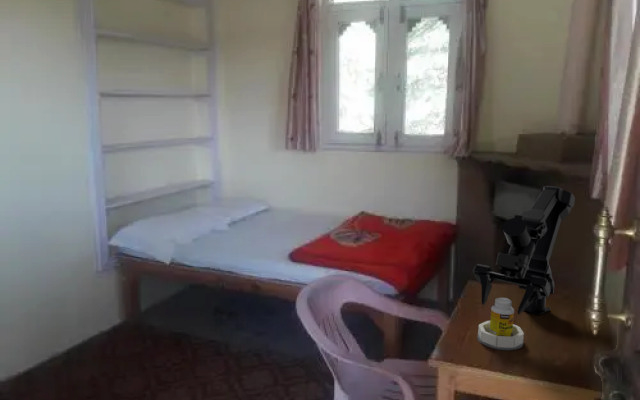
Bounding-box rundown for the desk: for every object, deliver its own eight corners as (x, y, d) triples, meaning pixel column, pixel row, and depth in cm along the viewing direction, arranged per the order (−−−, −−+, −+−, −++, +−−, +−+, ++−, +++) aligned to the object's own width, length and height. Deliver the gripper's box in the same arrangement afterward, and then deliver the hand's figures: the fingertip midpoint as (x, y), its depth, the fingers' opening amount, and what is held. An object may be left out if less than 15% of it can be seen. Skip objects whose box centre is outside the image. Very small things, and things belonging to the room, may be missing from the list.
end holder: (493, 327, 145) (494, 316, 144) (531, 341, 136) (532, 330, 136) (468, 338, 138) (469, 327, 137) (507, 354, 129) (508, 342, 129)
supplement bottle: (496, 343, 134) (499, 305, 132) (484, 334, 139) (487, 297, 137) (516, 341, 135) (519, 303, 133) (503, 332, 140) (506, 295, 138)
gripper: (477, 234, 141) (456, 285, 135) (550, 247, 129) (532, 303, 123) (487, 256, 148) (468, 305, 142) (557, 270, 137) (540, 324, 130)
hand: (500, 308), depth 134 cm, fingers open, 9 cm apart
